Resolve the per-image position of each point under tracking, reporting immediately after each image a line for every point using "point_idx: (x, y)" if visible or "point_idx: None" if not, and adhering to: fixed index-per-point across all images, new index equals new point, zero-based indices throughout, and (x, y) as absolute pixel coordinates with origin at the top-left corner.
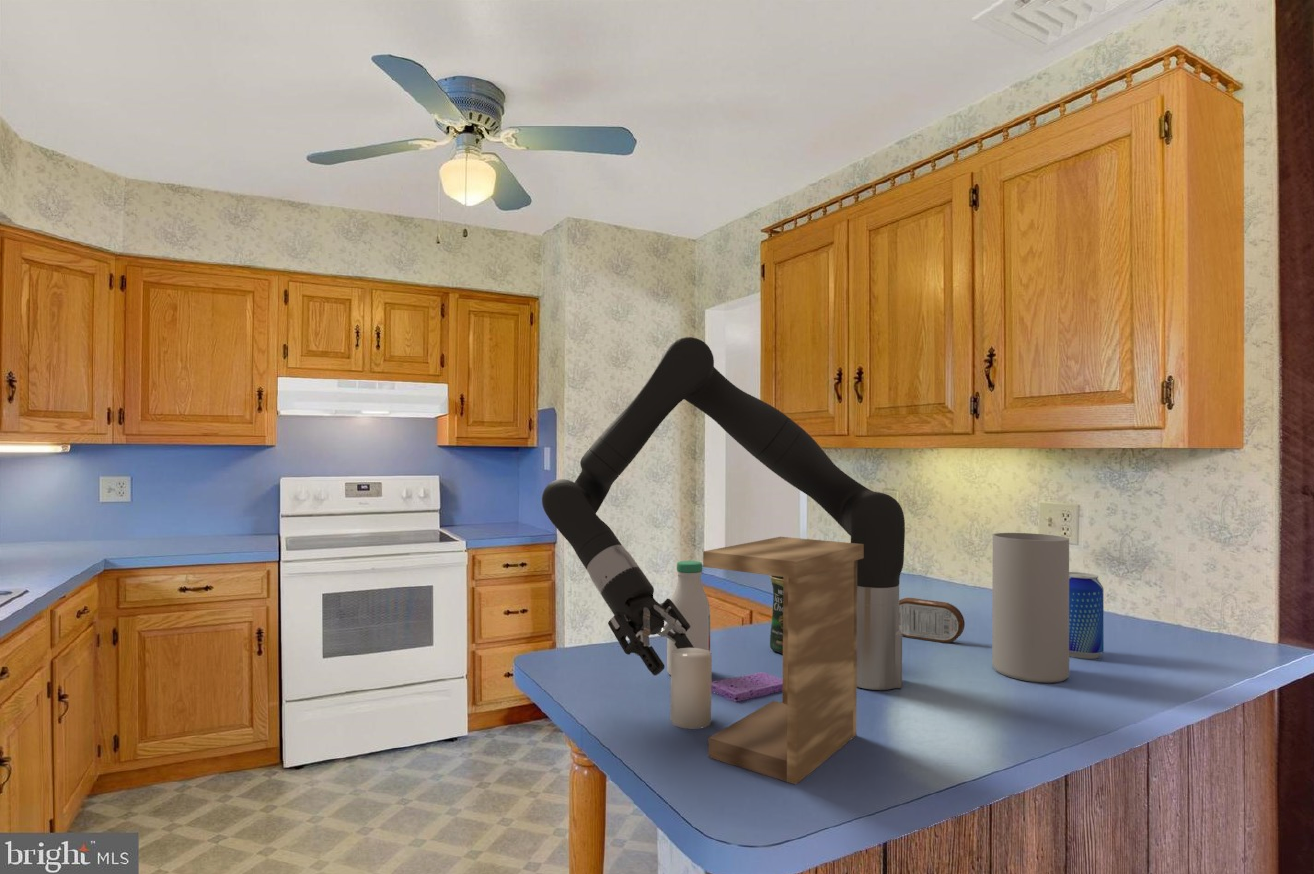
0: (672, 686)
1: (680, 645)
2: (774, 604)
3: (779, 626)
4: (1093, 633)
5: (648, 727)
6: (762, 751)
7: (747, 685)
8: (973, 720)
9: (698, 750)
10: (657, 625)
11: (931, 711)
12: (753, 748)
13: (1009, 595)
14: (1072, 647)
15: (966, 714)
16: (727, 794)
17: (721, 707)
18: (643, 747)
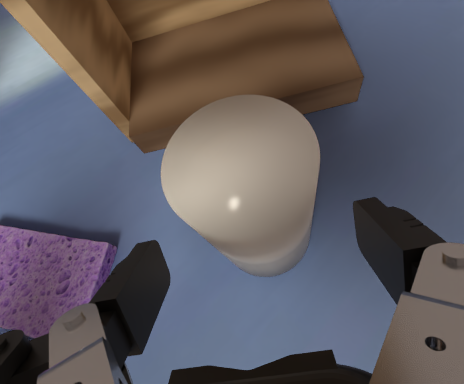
0: (310, 222)
1: (143, 311)
2: None
3: None
4: None
5: (369, 266)
6: (325, 12)
7: (42, 267)
8: (20, 33)
9: (353, 126)
10: (241, 380)
11: (11, 64)
12: (328, 23)
13: None
14: None
15: (5, 44)
16: (415, 17)
17: (160, 244)
18: (446, 191)
